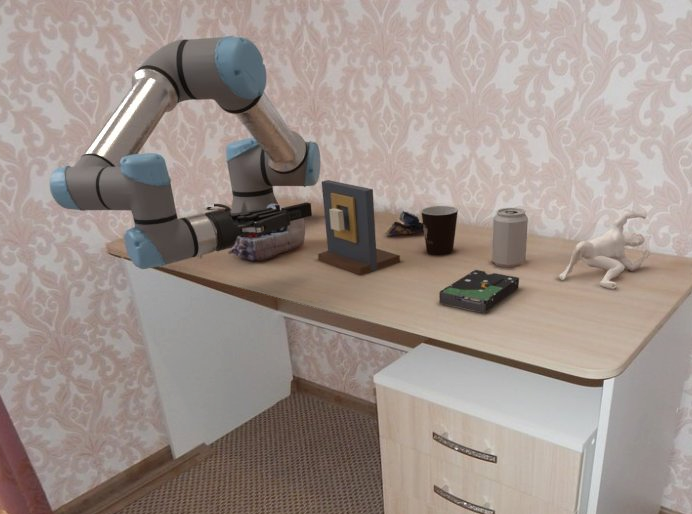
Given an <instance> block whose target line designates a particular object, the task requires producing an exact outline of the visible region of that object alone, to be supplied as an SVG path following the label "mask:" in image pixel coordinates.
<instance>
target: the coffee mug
mask: <svg viewBox="0 0 692 514" xmlns="http://www.w3.org/2000/svg"><path fill="white" fill-rule="evenodd" d="M420 213H421V221H422V223H423V228H424V230H423V237H424V242H425V249H426V254H427V255H430V256H435V257H437V256H438V257H443V256H449V255H451V254H452V253H454V245H455V237H456V229H457V222H458V215H459V214H458V213H459V209H458V208H457V207H454V206H451V205H434V206H433V205H432V206H427V207H424V208H422V209H421V210H420Z"/></svg>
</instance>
